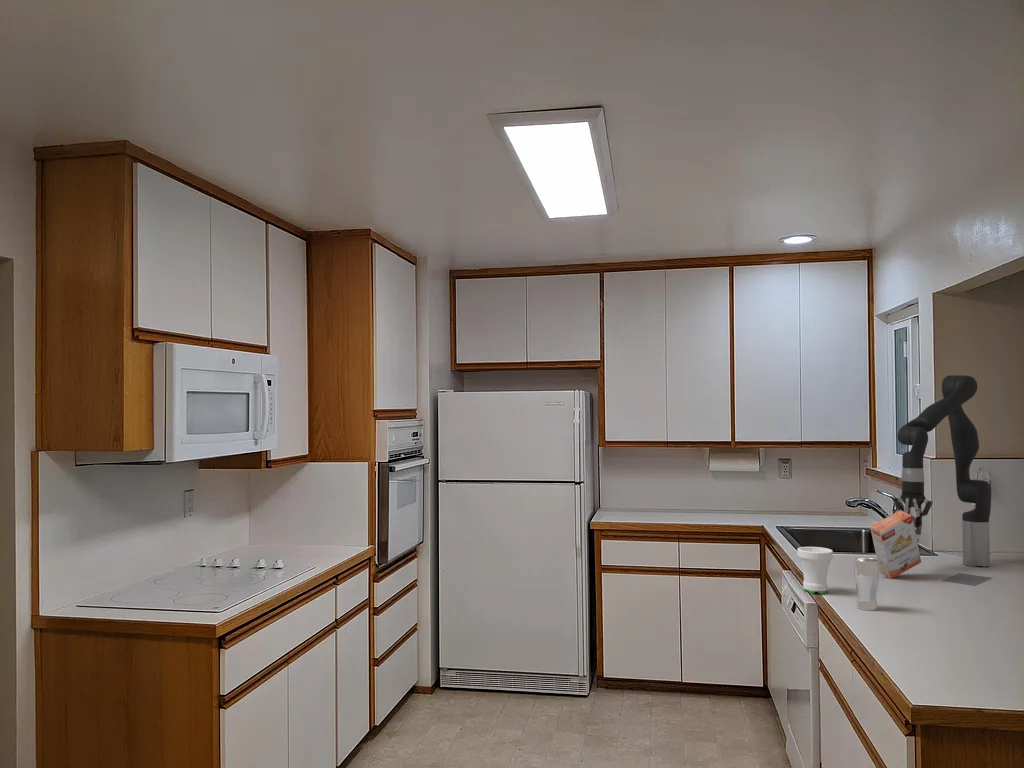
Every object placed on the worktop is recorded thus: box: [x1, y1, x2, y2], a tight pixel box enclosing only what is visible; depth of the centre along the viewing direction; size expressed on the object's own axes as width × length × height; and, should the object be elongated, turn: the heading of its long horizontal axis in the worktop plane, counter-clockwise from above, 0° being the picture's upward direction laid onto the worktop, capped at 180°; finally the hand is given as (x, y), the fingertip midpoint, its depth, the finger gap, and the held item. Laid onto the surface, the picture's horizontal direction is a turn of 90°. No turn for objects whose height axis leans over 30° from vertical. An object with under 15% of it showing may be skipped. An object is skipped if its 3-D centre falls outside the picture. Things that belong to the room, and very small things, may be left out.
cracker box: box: [869, 510, 922, 580], centre depth 290 cm, size 14×6×21 cm, turn 101°
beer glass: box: [854, 557, 880, 612], centre depth 250 cm, size 7×7×15 cm
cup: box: [797, 546, 834, 595], centre depth 271 cm, size 11×11×14 cm
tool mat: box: [941, 572, 992, 587], centre depth 289 cm, size 19×11×1 cm, turn 134°
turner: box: [912, 515, 923, 536], centre depth 299 cm, size 17×7×5 cm, turn 134°
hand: (913, 526), depth 302 cm, fingers closed on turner, 3 cm apart
